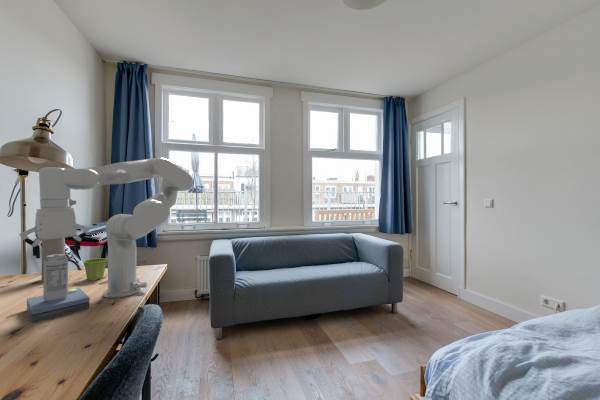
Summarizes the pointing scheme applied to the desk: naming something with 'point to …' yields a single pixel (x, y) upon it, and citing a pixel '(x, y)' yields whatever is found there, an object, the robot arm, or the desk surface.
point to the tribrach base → (57, 312)
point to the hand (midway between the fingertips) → (57, 255)
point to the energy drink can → (55, 278)
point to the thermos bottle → (52, 249)
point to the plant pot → (95, 268)
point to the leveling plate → (71, 299)
